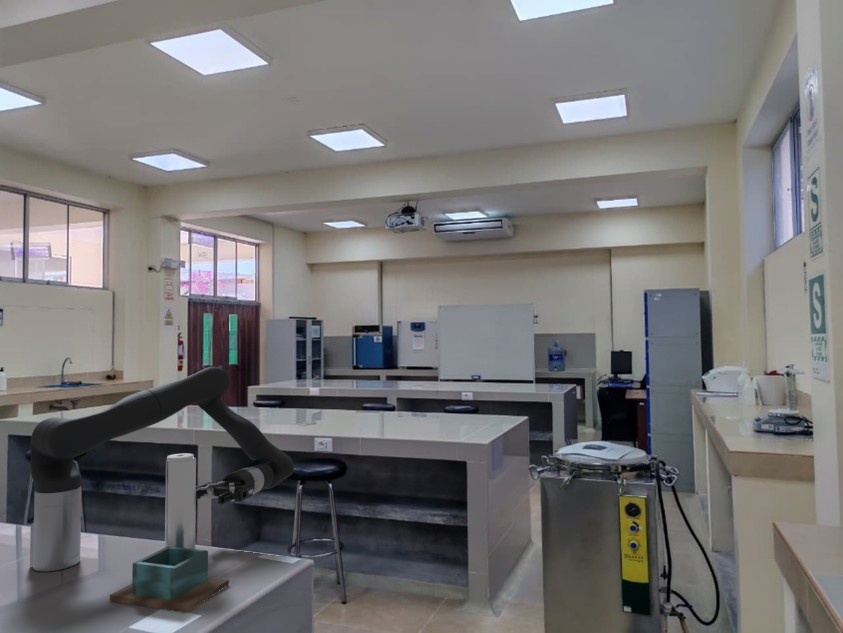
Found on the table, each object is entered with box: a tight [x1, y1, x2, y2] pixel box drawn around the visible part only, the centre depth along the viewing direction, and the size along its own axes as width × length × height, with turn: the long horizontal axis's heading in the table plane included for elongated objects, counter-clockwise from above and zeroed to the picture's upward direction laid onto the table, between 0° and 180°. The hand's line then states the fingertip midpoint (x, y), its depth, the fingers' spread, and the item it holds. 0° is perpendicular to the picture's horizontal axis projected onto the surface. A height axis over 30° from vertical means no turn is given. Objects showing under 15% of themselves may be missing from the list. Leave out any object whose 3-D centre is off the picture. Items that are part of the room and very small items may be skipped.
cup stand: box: [109, 546, 230, 613], centre depth 120 cm, size 18×13×7 cm
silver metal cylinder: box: [164, 452, 197, 549], centre depth 135 cm, size 6×6×25 cm
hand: (204, 498), depth 143 cm, fingers open, 8 cm apart
